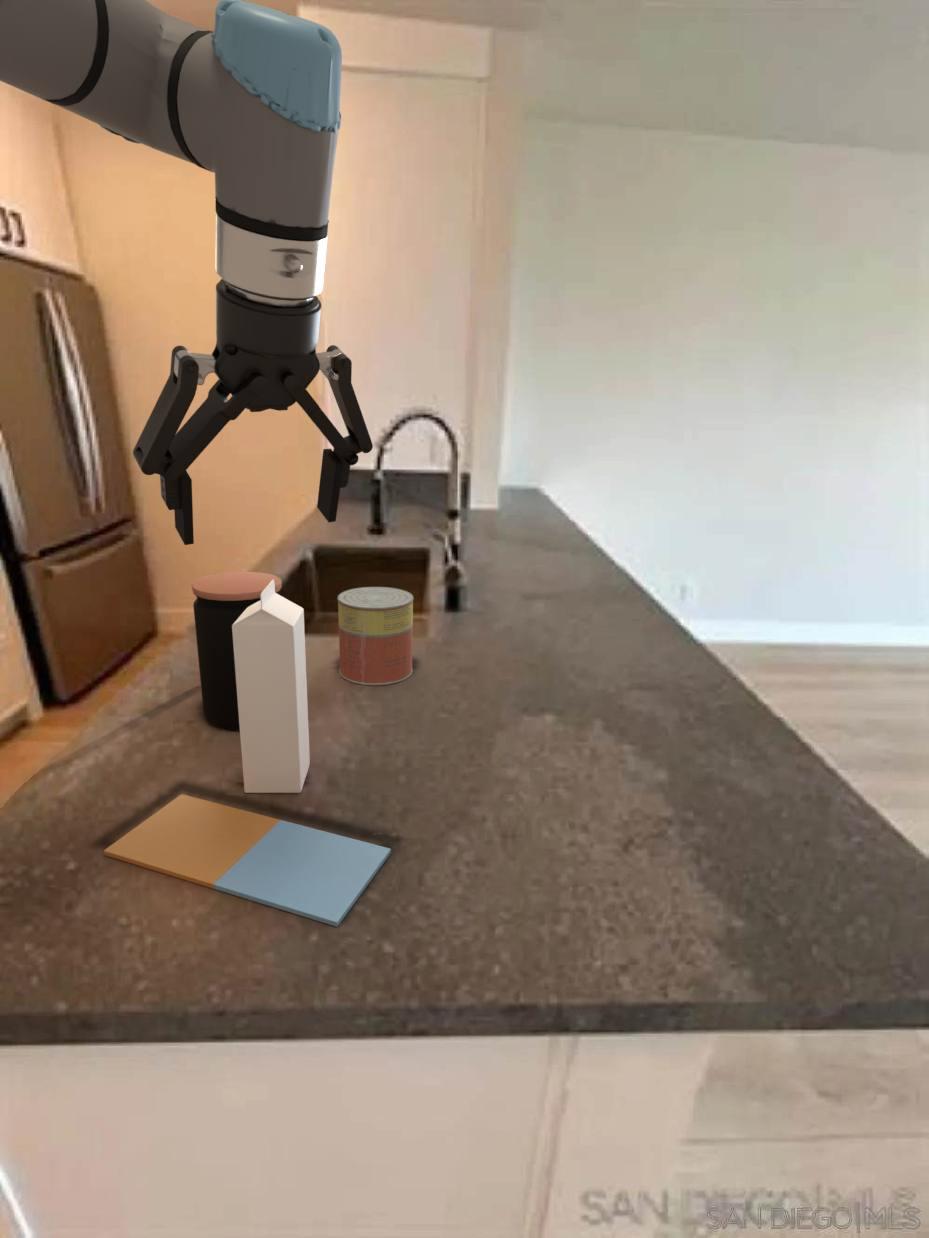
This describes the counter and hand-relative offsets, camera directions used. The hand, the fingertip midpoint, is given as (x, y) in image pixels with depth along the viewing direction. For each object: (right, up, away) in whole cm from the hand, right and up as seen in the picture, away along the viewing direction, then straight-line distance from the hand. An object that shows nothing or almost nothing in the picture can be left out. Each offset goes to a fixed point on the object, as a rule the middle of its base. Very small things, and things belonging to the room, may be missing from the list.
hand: (259, 524), depth 63 cm
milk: (-1, -27, +11) cm, 29 cm away
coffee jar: (-10, -21, +26) cm, 35 cm away
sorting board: (-1, -30, -1) cm, 31 cm away
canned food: (+6, -17, +41) cm, 45 cm away
